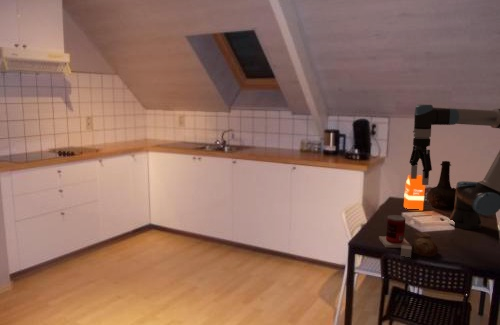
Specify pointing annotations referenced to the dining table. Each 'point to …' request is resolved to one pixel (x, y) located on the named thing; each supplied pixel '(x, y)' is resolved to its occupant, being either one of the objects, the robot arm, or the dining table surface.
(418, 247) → the bread roll
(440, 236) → the dining table surface
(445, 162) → the glass bottle
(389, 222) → the canned food
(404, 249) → the grey block
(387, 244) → the plate
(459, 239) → the dining table surface
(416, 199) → the orange juice
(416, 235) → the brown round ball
